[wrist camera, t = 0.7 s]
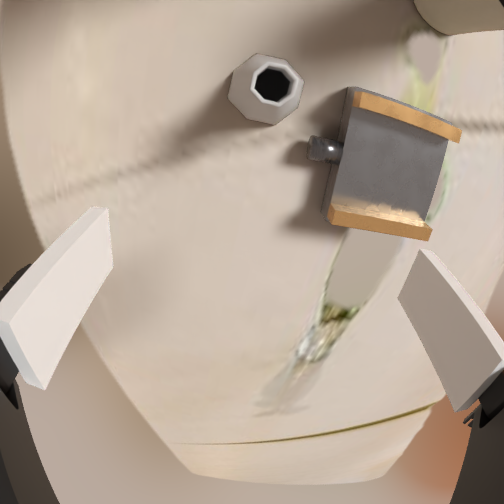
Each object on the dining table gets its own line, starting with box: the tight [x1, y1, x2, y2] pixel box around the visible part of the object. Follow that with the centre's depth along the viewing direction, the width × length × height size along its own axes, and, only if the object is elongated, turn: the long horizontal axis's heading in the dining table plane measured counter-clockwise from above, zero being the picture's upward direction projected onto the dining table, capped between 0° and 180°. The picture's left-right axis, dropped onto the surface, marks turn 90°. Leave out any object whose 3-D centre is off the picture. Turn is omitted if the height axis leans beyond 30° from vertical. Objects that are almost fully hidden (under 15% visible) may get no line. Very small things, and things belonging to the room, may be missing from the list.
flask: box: [228, 53, 304, 125], centre depth 22 cm, size 7×7×10 cm
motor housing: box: [307, 87, 462, 241], centre depth 27 cm, size 14×15×4 cm
